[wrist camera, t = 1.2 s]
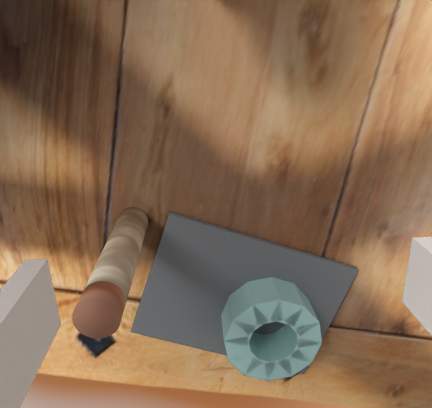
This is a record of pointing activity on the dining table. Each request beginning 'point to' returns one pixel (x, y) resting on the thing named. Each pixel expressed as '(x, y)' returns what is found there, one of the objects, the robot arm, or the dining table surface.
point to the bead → (275, 342)
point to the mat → (226, 282)
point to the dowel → (111, 277)
